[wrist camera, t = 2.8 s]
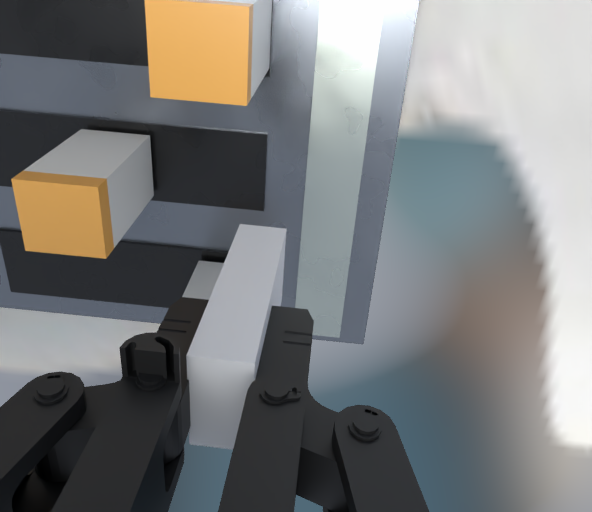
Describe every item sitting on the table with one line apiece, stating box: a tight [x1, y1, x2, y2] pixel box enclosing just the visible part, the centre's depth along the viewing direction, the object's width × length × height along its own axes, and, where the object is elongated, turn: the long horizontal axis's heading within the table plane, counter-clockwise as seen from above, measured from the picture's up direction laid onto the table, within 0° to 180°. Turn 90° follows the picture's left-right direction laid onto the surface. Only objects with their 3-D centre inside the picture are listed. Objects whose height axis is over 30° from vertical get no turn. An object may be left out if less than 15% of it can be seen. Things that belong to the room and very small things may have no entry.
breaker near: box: [145, 0, 272, 106], centre depth 19 cm, size 3×3×6 cm
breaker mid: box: [11, 129, 154, 259], centre depth 22 cm, size 3×3×6 cm
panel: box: [0, 0, 419, 344], centre depth 26 cm, size 24×18×2 cm
